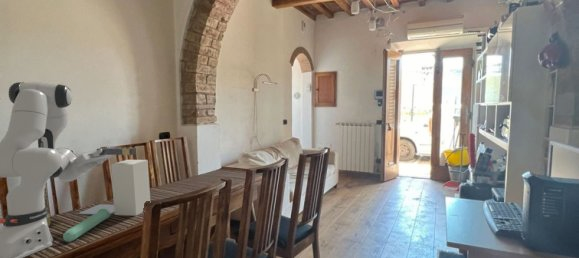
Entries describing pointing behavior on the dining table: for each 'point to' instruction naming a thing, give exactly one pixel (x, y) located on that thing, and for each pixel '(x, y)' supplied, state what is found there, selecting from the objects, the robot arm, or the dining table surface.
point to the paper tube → (47, 204)
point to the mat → (97, 208)
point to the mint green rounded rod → (86, 225)
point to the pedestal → (130, 186)
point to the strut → (118, 151)
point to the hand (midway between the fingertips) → (105, 149)
